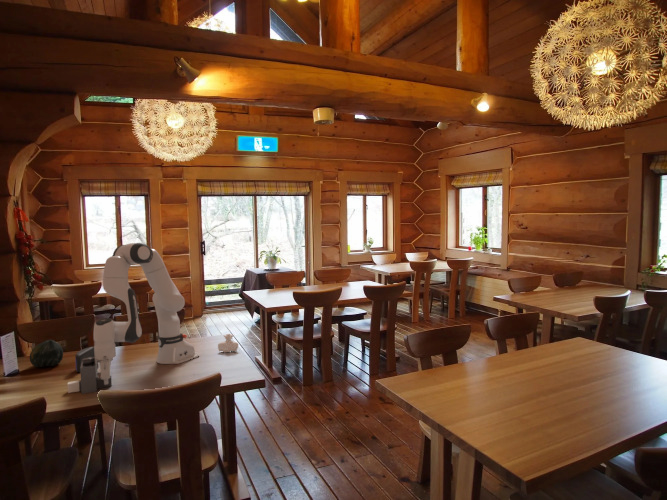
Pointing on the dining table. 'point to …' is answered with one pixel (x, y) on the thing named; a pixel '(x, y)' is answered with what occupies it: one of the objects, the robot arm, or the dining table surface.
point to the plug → (76, 385)
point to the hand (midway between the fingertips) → (106, 382)
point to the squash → (46, 354)
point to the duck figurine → (228, 344)
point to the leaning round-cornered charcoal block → (83, 356)
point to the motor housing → (88, 375)
